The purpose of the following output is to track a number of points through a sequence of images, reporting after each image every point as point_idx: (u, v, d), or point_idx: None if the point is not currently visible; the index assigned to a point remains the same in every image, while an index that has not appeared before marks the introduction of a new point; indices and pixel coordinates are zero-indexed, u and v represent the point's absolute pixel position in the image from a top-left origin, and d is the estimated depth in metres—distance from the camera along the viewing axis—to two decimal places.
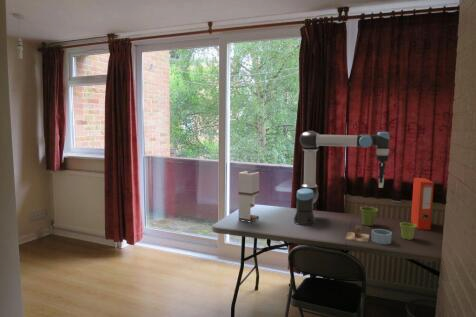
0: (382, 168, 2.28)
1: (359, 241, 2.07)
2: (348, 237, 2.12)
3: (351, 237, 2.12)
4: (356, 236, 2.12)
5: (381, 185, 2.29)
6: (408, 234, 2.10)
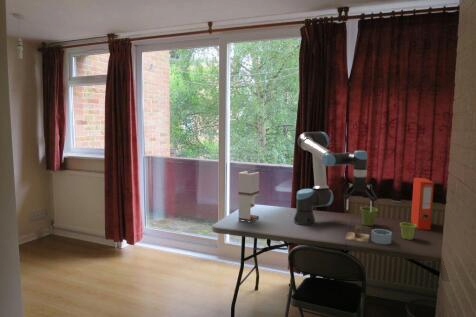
0: (346, 189, 2.13)
1: (359, 241, 2.07)
2: (348, 237, 2.12)
3: (351, 237, 2.12)
4: (356, 236, 2.12)
5: None
6: (408, 234, 2.10)
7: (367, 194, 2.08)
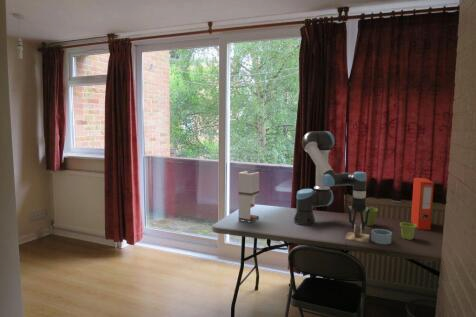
0: None
1: (359, 241, 2.07)
2: (348, 237, 2.12)
3: (351, 237, 2.12)
4: (356, 236, 2.12)
5: None
6: (408, 234, 2.10)
7: (361, 216, 2.10)
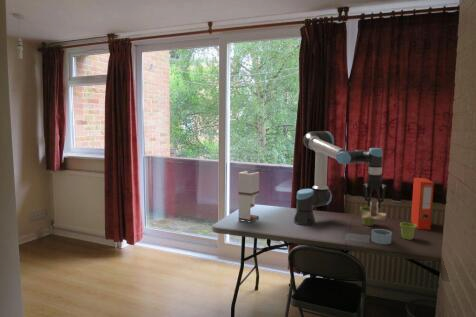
0: (364, 190, 2.08)
1: (359, 241, 2.07)
2: (364, 215, 2.06)
3: (367, 215, 2.06)
4: (372, 214, 2.06)
5: (370, 210, 2.08)
6: (408, 234, 2.10)
7: (377, 194, 2.05)
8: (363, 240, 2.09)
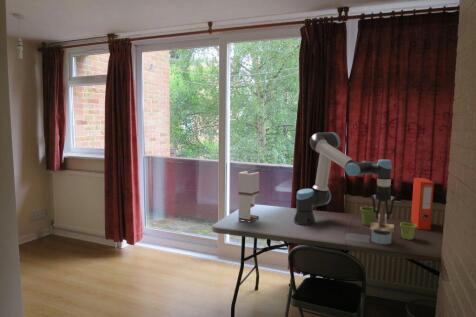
0: None
1: (359, 241, 2.07)
2: (372, 227, 2.05)
3: (375, 227, 2.05)
4: (381, 226, 2.05)
5: (378, 221, 2.07)
6: (408, 234, 2.10)
7: (386, 205, 2.04)
8: (363, 240, 2.09)
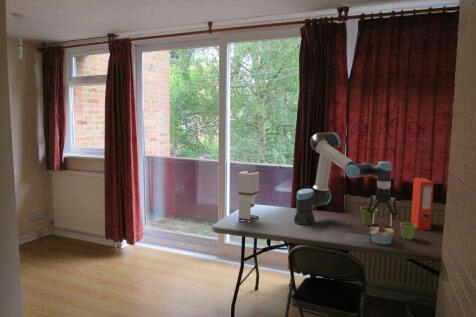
0: (370, 202, 2.08)
1: (359, 241, 2.07)
2: (372, 231, 2.05)
3: (375, 231, 2.05)
4: (380, 230, 2.05)
5: (372, 221, 2.09)
6: (408, 234, 2.10)
7: (389, 207, 2.03)
8: (363, 240, 2.09)
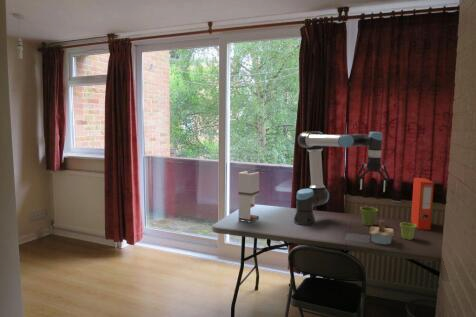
0: (360, 169, 2.18)
1: (359, 241, 2.07)
2: (372, 231, 2.05)
3: (375, 231, 2.05)
4: (380, 230, 2.05)
5: (360, 186, 2.20)
6: (408, 234, 2.10)
7: (381, 174, 2.13)
8: (363, 240, 2.09)
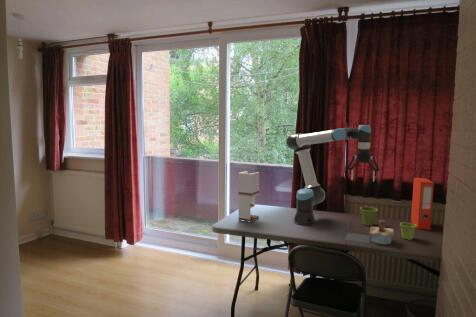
0: (351, 160, 2.31)
1: (359, 241, 2.07)
2: (372, 231, 2.05)
3: (375, 231, 2.05)
4: (380, 230, 2.05)
5: (351, 177, 2.32)
6: (408, 234, 2.10)
7: (370, 165, 2.26)
8: (363, 240, 2.09)
